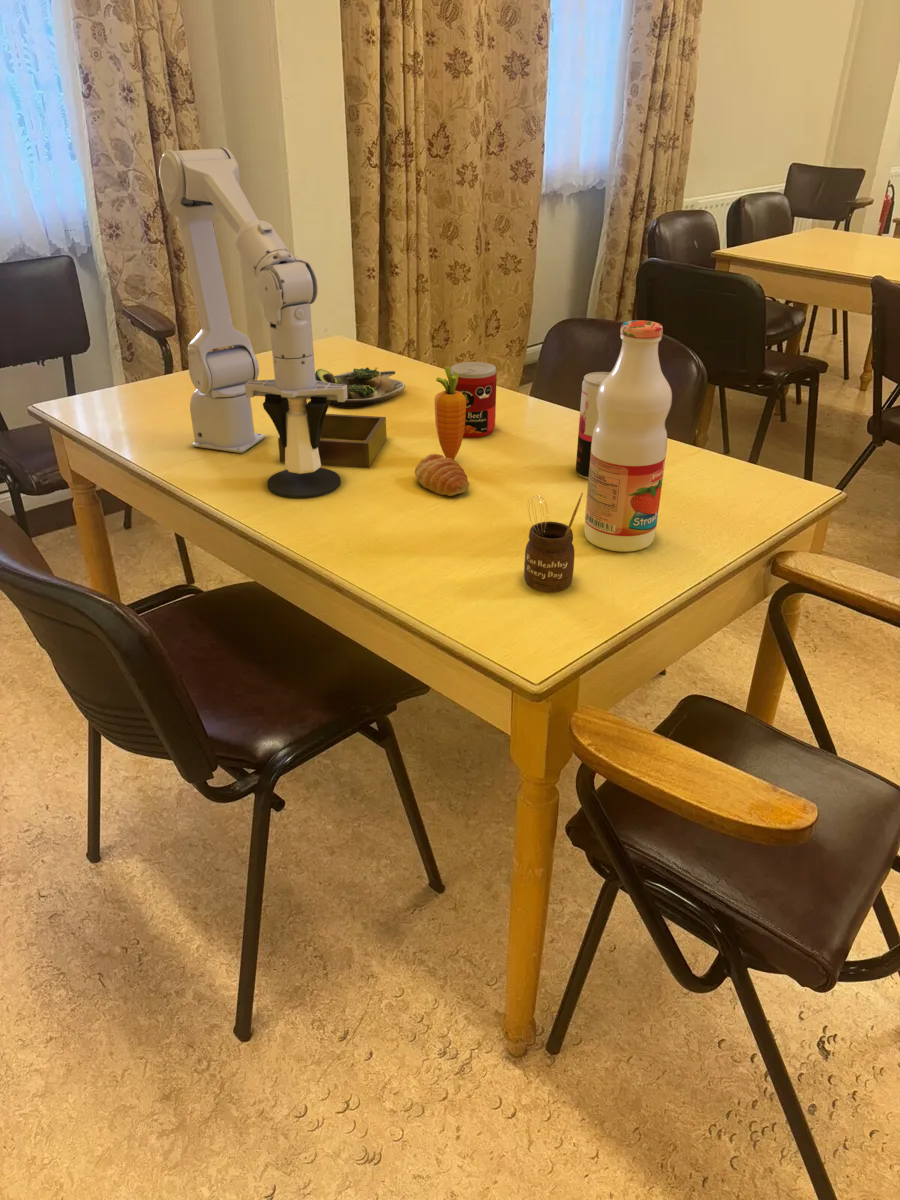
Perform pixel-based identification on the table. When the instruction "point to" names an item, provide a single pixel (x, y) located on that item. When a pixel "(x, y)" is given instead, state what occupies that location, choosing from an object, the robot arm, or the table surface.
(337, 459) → the rectangular frame
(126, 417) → the table surface
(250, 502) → the table surface
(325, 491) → the mat
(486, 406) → the canned food
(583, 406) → the beverage can
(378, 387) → the salad plate
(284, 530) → the table surface
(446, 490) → the pastry
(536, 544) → the utensil holder
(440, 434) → the carrot
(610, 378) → the fruit juice
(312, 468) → the salt shaker
